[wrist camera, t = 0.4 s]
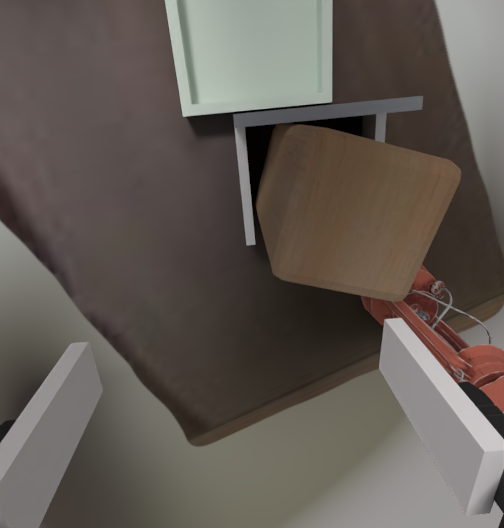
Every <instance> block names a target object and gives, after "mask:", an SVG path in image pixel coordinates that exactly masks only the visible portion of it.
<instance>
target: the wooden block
mask: <svg viewBox="0 0 504 528" xmlns="http://www.w3.org/2000/svg"><path fill="white" fill-rule="evenodd" d="M460 179H461V170H460V169H459V168H458V167H457V166H456V165H455V164H454V163H453V162H452V161H451V160H448V159H444V158H440V157H436V156H432V155H429V154H425V153H421V152H417V151H413V150H410V149H406V148H402V147H398V146H394V145H391V144H387V143H383V142H379V141H375V140H372V139H368V138H364V137H360V136H356V135H353V134H349V133H345V132H341V131H337V130H334V129H330V128H324V127H316V126H309V125H301V124H293V123H280V124H276V126H275V127H274V129H273V130H272V135H271V139H270V143H269V147H268V151H267V155H266V159H265V163H264V167H263V172H262V176H261V180H260V184H259V188H258V192H257V196H256V200H255V205H256V210H257V214H258V218H259V222H260V226H261V230H262V233H263V237H264V241H265V245H266V249H267V253H268V256H269V260H270V264H271V268H272V272H273V274H274V275H275V276H277V277H278V278H280V279H281V280H284V281H289V282H294V283H299V284H304V285H310V286H315V287H320V288H325V289H330V290H335V291H341V292H346V293H351V294H356V295H361V296H367V297H372V298H377V299H382V300H387V301H392V302H397V301H402V300H403V299H404V298H405V297H406V296H407V295H408V292H409V290H410V288H411V286H412V284H413V282H414V280H415V277H416V275H417V273H418V271H419V269H420V267H421V264H422V262H423V260H424V258H425V256H426V254H427V252H428V249H429V247H430V245H431V243H432V241H433V239H434V236H435V234H436V232H437V230H438V228H439V226H440V224H441V221H442V219H443V217H444V215H445V213H446V211H447V208H448V206H449V204H450V202H451V200H452V198H453V196H454V193H455V191H456V189H457V187H458V185H459V183H460Z"/></svg>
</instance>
